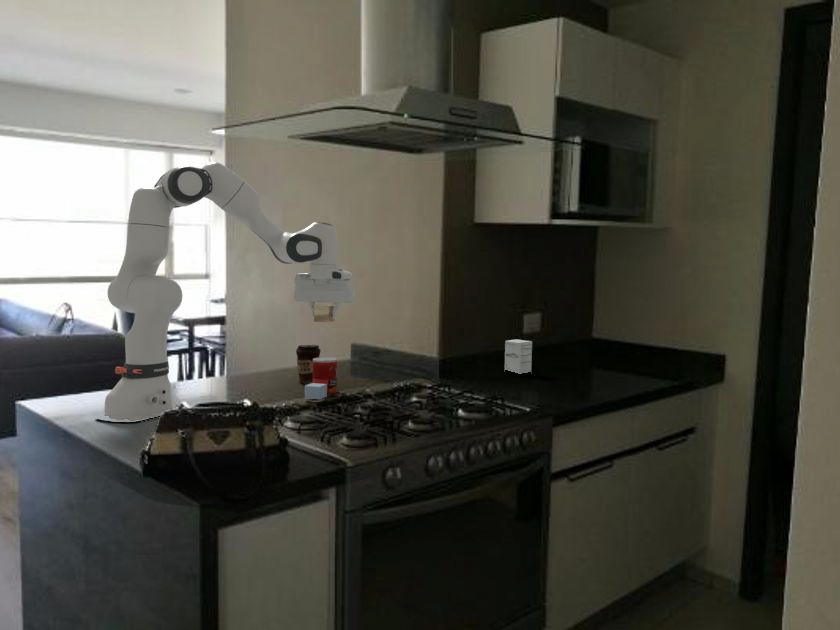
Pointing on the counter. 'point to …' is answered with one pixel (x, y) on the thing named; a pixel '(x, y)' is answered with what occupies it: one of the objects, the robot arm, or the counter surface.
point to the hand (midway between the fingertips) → (324, 316)
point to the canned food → (325, 372)
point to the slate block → (315, 391)
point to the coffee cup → (306, 361)
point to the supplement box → (518, 356)
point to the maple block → (323, 313)
